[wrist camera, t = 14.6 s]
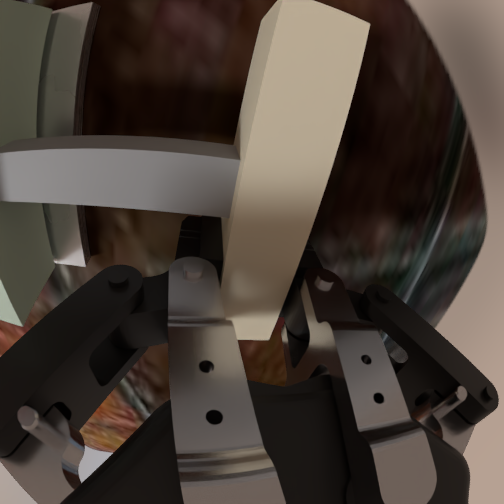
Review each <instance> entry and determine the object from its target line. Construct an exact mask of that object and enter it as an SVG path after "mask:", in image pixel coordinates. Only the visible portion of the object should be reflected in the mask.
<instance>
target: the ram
mask: <svg viewBox="0 0 504 504" xmlns="http://www.w3.org/2000/svg"><path fill="white" fill-rule="evenodd" d="M52 10H53V9H50V8H46V7H42V6H38V5H34V4H29V3H25V2H19V1H14V0H0V320H3V321H6V322H9V323H12V324H16V325H19V326H22V327H23V326H24V323H25V321H26V319H27V317H28V315H29V313H30V311H31V309H32V307H33V305H34V303H35V301H36V300H37V298H38V296H39V294H40V292H41V290H42V288H43V287H44V285H45V283H46V281H47V280H48V278H49V276H50V275H51V273H52V271H53V270H54V268H55V264H54V260H53V256H52V252H51V248H50V243H49V239H48V234H47V229H46V224H45V218H44V213H43V206H42V203H56V204H74V205H90V206H104V207H118V208H130V209H142V210H153V211H164V212H175V213H185V214H195V215H204V216H214V217H221V224H222V241H223V257H224V261H223V267H222V273H221V279H220V284H219V287H220V292H221V297H222V303H223V308H224V313H225V318H226V320H231V321H232V322H233V325H234V328H235V332H236V337H237V339H239V340H269V338H270V336H271V333H272V331H273V329H274V326H275V324H276V321H277V319H278V316H279V314H280V311H281V309H282V306H283V304H284V301H285V299H286V296H287V294H288V291H289V288H290V286H291V283H292V281H293V278H294V275H295V273H296V270H297V267H298V265H299V262H300V259H301V257H302V254H303V251H304V248H305V246H306V243H307V240H308V237H309V234H310V232H311V229H312V226H313V223H314V220H315V217H316V214H317V211H318V208H319V206H320V203H321V200H322V197H323V194H324V191H325V187H326V184H327V181H328V178H329V175H330V172H331V169H332V166H333V162H334V159H335V156H336V153H337V150H338V146H339V143H340V140H341V136H342V133H343V129H344V126H345V123H346V119H347V115H348V112H349V108H350V105H351V101H352V97H353V94H354V90H355V86H356V82H357V78H358V75H359V71H360V67H361V63H362V58H363V54H364V50H365V46H366V41H367V37H368V32H369V28H370V24H369V23H367V22H365V21H363V20H361V19H359V18H357V17H354V16H352V15H350V14H347V13H345V12H343V11H340V10H338V9H335V8H333V7H330V6H327V5H325V4H322V3H319V2H316V1H313V0H277V2H276V3H275V4H274V5H273V7H272V8H271V9H270V10H269V12H268V13H267V14H266V15H265V17H264V18H263V19H262V21H261V24H260V28H259V32H258V36H257V40H256V44H255V49H254V53H253V57H252V61H251V66H250V70H249V74H248V79H247V83H246V88H245V92H244V97H243V102H242V106H241V111H240V116H239V121H238V125H237V130H236V135H235V141H234V145H227V144H220V143H212V142H204V141H195V140H185V139H174V138H161V137H144V136H117V135H83V136H57V137H42V138H37V132H36V126H37V98H38V85H39V76H40V68H41V61H42V54H43V49H44V43H45V38H46V34H47V29H48V25H49V21H50V17H51V13H52Z"/></svg>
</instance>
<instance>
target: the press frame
mask: <svg viewBox="0 0 504 504" xmlns="http://www.w3.org/2000/svg"><path fill="white" fill-rule="evenodd" d="M100 7H101V6H100V5H98V4H96V3H94V2H90V3H85V4H80V5H76V6H71V7H67V8H63V9H59V10H56V11H52V13H51V17H50V21H49V25H48V29H47V34H46V38H45V43H44V49H43V54H42V61H41V68H40V76H39V85H38V98H37V126H36V132H37V138H42V137H57V136H82V116H83V102H84V91H85V82H86V74H87V67H88V61H89V55H90V49H91V44H92V39H93V34H94V30H95V26H96V22H97V18H98V14H99V10H100ZM42 206H43V213H44V218H45V224H46V229H47V234H48V239H49V243H50V248H51V252H52V256H53V260H54V263H61V264H68V265H76V266H83V267H86V265H87V263H88V261H89V260H90V258H91V255H90V249H89V243H88V236H87V228H86V220H85V210H84V205H74V204H56V203H42Z"/></svg>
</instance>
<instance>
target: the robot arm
mask: <svg viewBox="0 0 504 504" xmlns="http://www.w3.org/2000/svg"><path fill="white" fill-rule="evenodd" d="M313 250H314V249H313V247H312V245H310V242H309V240H307V243H306V246H305V248H304V251H303V254H302V257H301V259H300V262H299V265H298V267H297V270H296V273H295V275H294V278H293V281H292V283H291V286H290V288H289V291H288V294H287V296H286V299H285V301H284V304H283V306H282V309H281V311H280V314H279V316H278V317H284V319H285V323H284V325H283V327H282V331H281V334H282V341H283V348H284V356H285V363H286V371H287V379H286V383H285V387H282V386H276V385H270V384H265V383H260V382H255V381H250V380H246V376H245V371H244V367H243V363H242V359H241V354H240V350H239V346H238V341H237V337H236V332H235V328H234V325H233V322H232V321H231V320H226V318H225V313H224V308H223V303H222V297H221V292H220V287H219V284H220V279H221V273H222V267H223V261H224V257H223V241H222V224H221V217H214V216H204V215H202V217H196V216H188V217H187V218H186V219H185V220H183V221H182V225H181V230H180V235H179V241H178V246H177V252H176V258H175V261H174V262H173V263H172V264H171V266H170V268H169V271H167V272H165V273H163V274H161V275H158V276H153V277H145V278H143V277H142V275H141V273H140V272H139V271H138V270H137V269H135V268H133V267H131V266H127V265H114V266H110V267H108V268H105V269H104V270H102V271H101V272H100V273H98V274H97V275H96V276H94V277H93V278H92V279H90V280H89V281H88V282H87V283H85V284H84V285H83V286H81V287H80V288H79V289H78V290H76V291H75V292H74V293H73V294H71V295H70V296H69V297H68V298H66V299H65V300H64V301H63V302H62V303H60V304H59V305H58V306H57V307H56V308H54V309H53V310H52V311H51V312H50V313H48V314H47V315H46V316H45V317H44V318H43V319H41V320H40V321H39V322H38V323H37V324H36V325H35V326H33V327H32V328H31V329H30V330H29V331H28V332H27V333H26V334H25V335H23V336H22V337H21V338H20V339H19V340H18V341H17V342H16V343H15V344H14V345H13V346H12V347H11V348H10V349H9V350H7V351H6V352H5V353H4V354H3V355H2V356H1V357H0V461H1V463H2V464H3V465H4V467H5V468H6V469H7V470H8V471H9V473H10V474H11V475H12V476H13V477H14V479H15V480H16V481H17V482H18V483H19V484H20V486H21V487H22V488H23V489H24V490H25V491H26V492H27V493H28V494H29V495H30V496H31V497H32V498H33V499H34V500H35V501H36V502H37V503H38V504H468V497H469V485H470V472H469V467H468V464H467V462H466V460H465V458H464V456H463V453H464V451H465V448H466V446H467V444H468V442H469V439H470V437H471V434H472V432H473V429H474V426H475V424H477V423H478V422H480V421H481V420H482V419H484V418H485V417H486V416H488V415H489V414H490V413H492V412H493V411H494V410H495V409H496V408H497V406H498V400H499V399H498V394H497V391H496V389H495V387H494V385H493V384H492V383H491V382H490V381H489V380H488V379H487V378H486V377H485V376H484V375H483V374H482V373H481V372H480V371H479V370H478V369H477V368H476V367H475V366H474V365H473V364H472V363H471V362H470V361H469V360H468V359H467V358H466V357H465V356H464V355H463V354H461V353H460V352H459V351H458V350H457V349H456V348H455V347H454V346H453V345H452V344H451V343H450V342H449V341H448V340H446V339H445V338H444V337H443V336H442V335H441V334H440V333H439V332H437V330H435V329H434V328H433V327H432V326H431V325H430V324H429V323H428V322H426V321H425V320H424V319H423V318H422V317H421V316H419V315H418V314H417V313H416V312H415V311H414V310H413V309H411V308H410V307H409V306H408V305H407V304H405V303H404V302H403V301H402V300H401V299H400V298H398V297H397V296H396V295H395V294H394V293H392V292H391V291H390V290H388V289H387V288H385V287H383V286H380V285H375V284H372V285H369V286H368V287H367V288H366V289H365V291H364V293H363V294H361V293H357V292H354V291H350V290H347V289H346V288H345V286H344V284H343V282H342V280H341V279H340V278H339V277H338V276H337V275H336V274H335V273H333V272H331V271H329V270H327V269H324V268H323V267H322V265H321V263H320V261H319V259H318V257H317V255H316V253H315V251H313ZM382 331H384V332H385V333H386V334H387V335H388V336H390V337H391V338H392V339H393V340H394V341H395V342H396V343H397V344H398V345H399V346H401V347H402V348H403V349H404V350H405V351H406V352H407V354H408V358H409V359H408V360H407V361H406V362H404V363H398V362H396V361H395V360H394V359H393V358H392V357H391V356H389V355H388V354H387V351H386V349H385V346H384V344H383V342H382V339H381V337H380V334H381V333H382ZM164 343H168V356H169V379H170V395H171V399H170V400H168V401H167V402H165V403H164V404H163V405H161V406H160V407H159V408H157V409H156V410H155V411H154V412H153V413H152V414H151V415H150V416H149V417H148V419H147V420H146V421H145V422H144V423H143V424H142V425H141V426H140V427H139V428H138V429H137V430H136V431H135V432H134V433H133V434H132V435H131V436H130V437H129V438H128V439H127V440H126V441H125V442H124V443H123V444H122V445H121V446H120V447H119V448H118V449H117V450H116V451H115V452H114V453H113V454H112V455H111V456H110V457H109V458H108V459H107V460H106V461H105V462H104V463H103V464H102V465H100V466H99V467H98V468H97V469H96V470H95V471H94V472H93V473H92V474H91V475H90V476H89V477H88V478H87V479H86V480H85V481H84V482H82V483H81V481H80V479H79V474H78V467H79V463H80V461H81V459H82V457H83V455H84V451H85V444H84V440H83V437H82V435H81V433H80V432H79V430H80V429H81V428H82V427H83V425H84V424H85V423H86V422H87V421H88V419H89V418H90V417H91V416H92V414H93V413H94V412H95V411H96V410H97V408H98V407H99V406H100V405H101V404H102V402H103V401H104V400H105V399H106V398H107V396H108V395H109V394H110V393H111V392H112V391H113V389H114V388H115V387H116V386H117V385H118V383H119V382H120V381H121V380H122V379H123V377H124V376H125V375H126V374H127V373H128V372H129V370H130V369H131V368H132V367H133V366H134V365H135V363H136V362H137V361H138V360H139V359H140V357H141V356H142V355H143V354H144V353H145V352H146V350H147V349H148V347H149V346H153V345H159V344H164Z"/></svg>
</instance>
